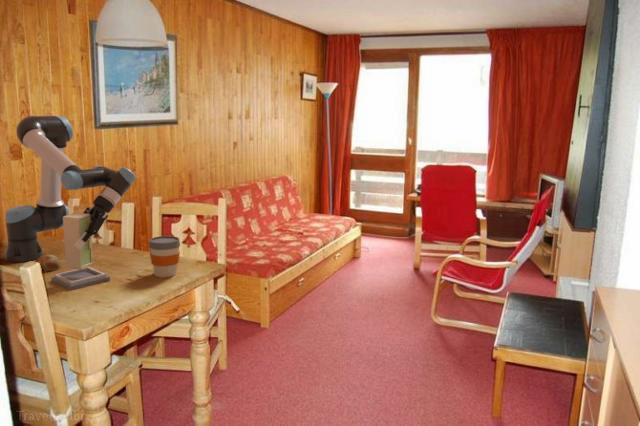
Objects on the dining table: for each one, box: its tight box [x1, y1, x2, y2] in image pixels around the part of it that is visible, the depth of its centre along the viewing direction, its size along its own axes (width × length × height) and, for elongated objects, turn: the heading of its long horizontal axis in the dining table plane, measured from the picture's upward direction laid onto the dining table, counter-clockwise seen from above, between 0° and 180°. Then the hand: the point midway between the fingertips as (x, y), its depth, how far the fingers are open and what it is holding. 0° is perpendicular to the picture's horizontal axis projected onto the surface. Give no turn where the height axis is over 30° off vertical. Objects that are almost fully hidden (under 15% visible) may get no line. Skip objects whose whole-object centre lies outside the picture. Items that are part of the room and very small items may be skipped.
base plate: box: [50, 266, 111, 291], centre depth 204 cm, size 16×16×3 cm
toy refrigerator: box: [62, 212, 94, 270], centre depth 201 cm, size 8×7×21 cm
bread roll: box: [35, 254, 62, 273], centre depth 218 cm, size 10×10×8 cm
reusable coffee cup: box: [148, 235, 181, 278], centre depth 214 cm, size 13×13×15 cm
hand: (70, 245), depth 199 cm, fingers closed on toy refrigerator, 9 cm apart
